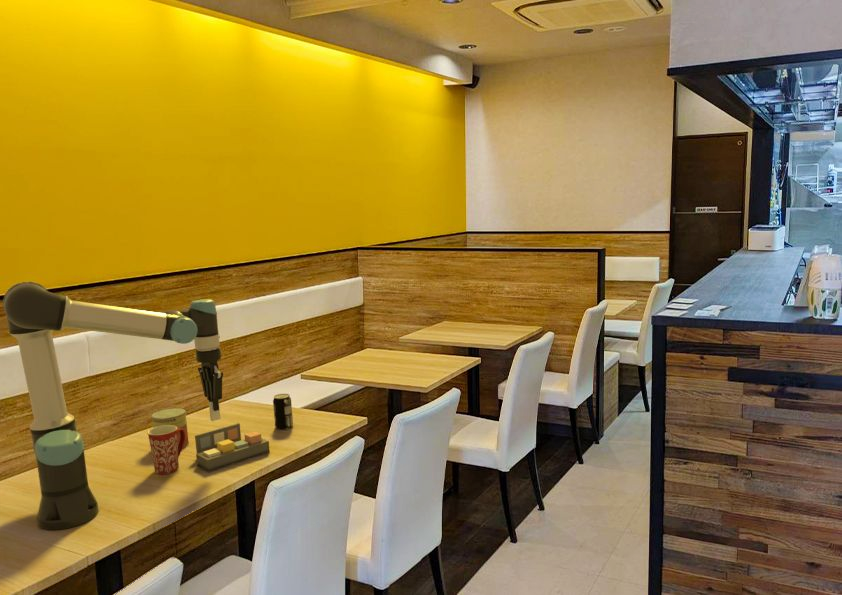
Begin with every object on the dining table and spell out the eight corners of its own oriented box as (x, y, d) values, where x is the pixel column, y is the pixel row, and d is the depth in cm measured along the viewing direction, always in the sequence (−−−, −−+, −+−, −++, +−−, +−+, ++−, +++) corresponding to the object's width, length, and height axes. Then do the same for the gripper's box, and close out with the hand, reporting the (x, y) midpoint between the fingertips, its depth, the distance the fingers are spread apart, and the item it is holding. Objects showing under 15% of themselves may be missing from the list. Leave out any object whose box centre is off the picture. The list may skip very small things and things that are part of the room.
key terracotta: (251, 447, 237) (250, 437, 236) (245, 444, 240) (244, 434, 239) (261, 443, 239) (261, 433, 239) (255, 441, 242) (255, 431, 242)
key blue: (238, 456, 234) (237, 446, 233) (232, 453, 236) (231, 443, 236) (249, 452, 236) (248, 442, 236) (243, 449, 239) (242, 439, 239)
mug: (164, 477, 222) (159, 436, 220) (145, 472, 227) (141, 432, 225) (196, 463, 233) (192, 423, 231) (177, 459, 238) (173, 420, 235)
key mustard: (223, 455, 230) (222, 445, 229) (217, 452, 233) (216, 442, 232) (234, 452, 233) (234, 442, 232) (229, 449, 236) (228, 439, 235)
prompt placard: (198, 459, 236) (196, 436, 235) (197, 458, 237) (194, 435, 236) (241, 445, 247) (239, 423, 246) (240, 445, 248) (238, 423, 247)
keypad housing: (208, 472, 225) (207, 460, 224) (197, 465, 231) (196, 454, 230) (269, 452, 239) (268, 441, 239) (257, 446, 245) (256, 435, 244)
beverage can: (274, 425, 267) (271, 394, 265) (292, 423, 269) (289, 392, 267) (276, 431, 261) (273, 399, 259) (294, 428, 263) (291, 397, 261)
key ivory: (209, 465, 227) (208, 454, 226) (204, 462, 230) (203, 451, 229) (221, 461, 230) (220, 451, 229) (215, 458, 232) (214, 448, 232)
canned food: (148, 451, 246) (145, 418, 244) (165, 440, 257) (162, 408, 255) (178, 452, 244) (175, 418, 242) (194, 440, 255) (191, 408, 253)
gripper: (228, 348, 223) (236, 420, 227) (209, 343, 233) (217, 412, 236) (206, 353, 218) (214, 427, 222) (187, 347, 228) (195, 418, 231)
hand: (215, 419), depth 229 cm, fingers closed
